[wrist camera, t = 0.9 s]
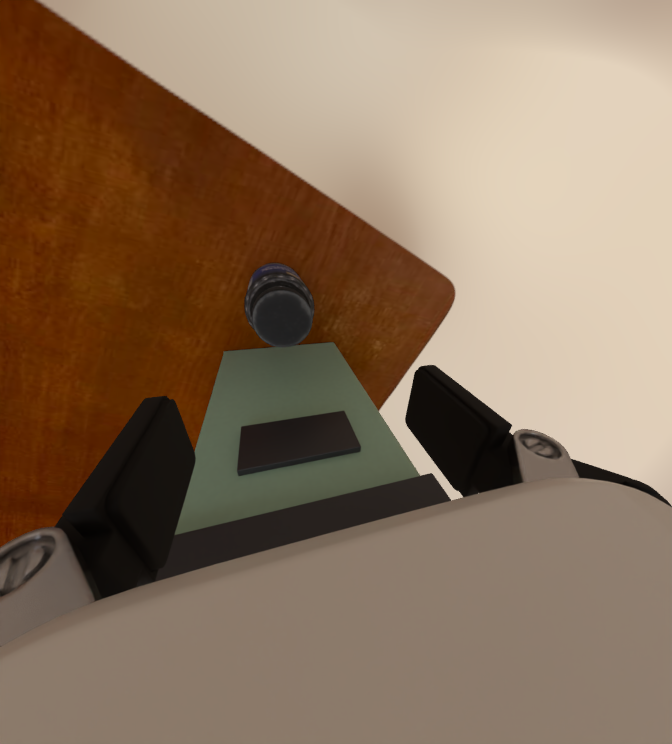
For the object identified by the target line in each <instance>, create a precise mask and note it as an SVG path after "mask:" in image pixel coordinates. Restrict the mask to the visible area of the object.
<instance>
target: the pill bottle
mask: <svg viewBox="0 0 672 744" xmlns="http://www.w3.org/2000/svg"><path fill="white" fill-rule="evenodd" d="M244 302H245V306H244V307H245V313H246V317H247V319H248V322H249V324H250V325H251V326H252V328H253V329H254V330H255V331H256V333H257V335H258V336H259V337H260V338H261V339H262V340H263V341H265V342H266V343H268V344H270V345H272V346H275V347H283V348H284V347H291V346H294V345H296V344H298V343H300V342H301V341H303V340H304V339H305V338H306V336H307V335H308V334H309V332H310V329H311V326H312V319H313V316H314V301H313V297H312V295H311V293H310V291H309V289H308V288H307V287H306V285H305V284H304V283H303V281H302V280H301V278H300V277H299V276H298V274H297V273H296V272H295V271H294V270H293V269H291V268H290V267H288V266H286V265H284V264H280V263H269V264H266V265H264V266H262V267H260V268H258V269H257V270H256V271H255V272H254V273H253V275H252V277H251V279H250V282H249V286H248V290H247V293H246V297H245V301H244Z"/></svg>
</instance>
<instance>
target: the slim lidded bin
mask: <svg viewBox="0 0 672 744" xmlns="http://www.w3.org/2000/svg"><path fill="white" fill-rule="evenodd" d="M195 457H196V462H195V466H194V470H193V473H192V477H191V480H190V483H189V487H188V490H187V494H186V497H185V501H184V504H183V507H182V511H181V514H180V518H179V521H178V525H177V528H176V531H175V535H174V538H173V542H172V545H171V549H170V552H169V555H168V559H167V562H166V564H165V566H164V567H163V568H160V569H159V570H158V573H157V577H156V580H155V582H156V581H160V580H163V579H167V578H170V577H174V576H177V575H180V574H184V573H187V572H191V571H194V570H198V569H201V568H204V567H208V566H211V565H215V564H218V563H222V562H226V561H229V560H233V559H237V558H240V557H244V556H248V555H251V554H255V553H258V552H262V551H266V550H269V549H273V548H277V547H280V546H284V545H288V544H291V543H295V542H299V541H302V540H306V539H310V538H313V537H317V536H321V535H324V534H328V533H332V532H335V531H339V530H343V529H347V528H350V527H354V526H358V525H361V524H365V523H369V522H373V521H376V520H380V519H384V518H388V517H391V516H395V515H399V514H403V513H406V512H410V511H414V510H418V509H421V508H425V507H429V506H433V505H437V504H440V503H444V502H448V501H451V499H450V498H449V497H448V495H447V494H446V492H445V491H444V489H443V488H442V487H441V485H440V484H439V482H438V481H437V480H436V478H435V477H434V475H433V474H432V473H430V474H426V475H422V476H420V475H419V473H418V472H417V470H416V468H415V467H414V466H413V464H412V463H411V461H410V459H409V458H408V456H407V455H406V453H405V452H404V450H403V449H402V447H401V446H400V444H399V442H398V441H397V439H396V438H395V436H394V435H393V433H392V432H391V430H390V428H389V427H388V425H387V424H386V422H385V421H384V419H383V418H382V416H381V415H380V413H379V411H378V410H377V408H376V407H375V405H374V404H373V402H372V401H371V399H370V398H369V396H368V394H367V393H366V391H365V390H364V388H363V387H362V385H361V384H360V382H359V381H358V379H357V378H356V376H355V374H354V373H353V371H352V370H351V368H350V367H349V365H348V364H347V362H346V361H345V359H344V358H343V356H342V354H341V353H340V351H339V350H338V348H337V347H336V345H335V344H334V342H329V343H317V344H306V345H294V346H291V347H284V348H283V347H270V348H259V349H247V350H235V351H224V354H223V357H222V361H221V364H220V368H219V371H218V374H217V378H216V381H215V385H214V388H213V391H212V395H211V398H210V402H209V405H208V408H207V412H206V415H205V418H204V422H203V425H202V429H201V432H200V435H199V439H198V442H197V446H196V449H195Z"/></svg>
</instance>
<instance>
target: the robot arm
mask: <svg viewBox="0 0 672 744" xmlns="http://www.w3.org/2000/svg"><path fill="white" fill-rule="evenodd" d="M405 420H406V424H407V426H408V428H409V429H410V430H411V432H412V433H413V434H414V436H415V437H416V438H417V440H418V441H419V442H420V444H421V445H422V446H423V448H424V449H425V451H426V452H427V453H428V455H429V456H430V457H431V458H432V460H433V461H434V463H435V464H436V465H437V467H438V468H439V469H440V470H441V472H442V473H443V475H444V476H445V477H446V479H447V480H448V481H449V483H450V484H451V485H452V487H453V488H454V489H455V490H457V491H459V492H460V493H461V494H462V496H463V498H460V499H456V500H452V501H448V502H444V503H440V504H437V505H433V506H429V507H425V508H421V509H418V510H414V511H410V512H406V513H403V514H399V515H395V516H391V517H388V518H384V519H380V520H376V521H373V522H369V523H365V524H361V525H358V526H354V527H350V528H347V529H343V530H339V531H335V532H332V533H328V534H324V535H321V536H317V537H313V538H310V539H306V540H302V541H299V542H295V543H291V544H288V545H284V546H280V547H277V548H273V549H269V550H266V551H262V552H258V553H255V554H251V555H248V556H244V557H240V558H237V559H233V560H229V561H226V562H222V563H218V564H215V565H211V566H208V567H204V568H201V569H198V570H194V571H191V572H187V573H184V574H180V575H177V576H174V577H170V578H167V579H163V580H160V581H156V582H155V580H156V577H157V573H158V570H159V569H160V568H163V567H164V566H165V564H166V562H167V559H168V555H169V552H170V549H171V545H172V542H173V538H174V535H175V531H176V528H177V525H178V521H179V518H180V514H181V511H182V507H183V504H184V501H185V497H186V494H187V490H188V487H189V483H190V480H191V477H192V473H193V470H194V466H195V462H196V457H195V452H194V450H193V447H192V445H191V442H190V439H189V437H188V434H187V431H186V429H185V426H184V423H183V421H182V418H181V416H180V413H179V410H178V408H177V405H176V403H175V401H174V400H173V399H171V400H169V398H168V397H167V396H161V397H152V398H146V399H144V400H143V402H142V403H141V404H140V406H139V407H138V409H137V410H136V411H135V413H134V414H133V416H132V417H131V419H130V420H129V421H128V423H127V424H126V426H125V427H124V428H123V430H122V431H121V433H120V434H119V435H118V437H117V438H116V440H115V441H114V442H113V444H112V445H111V447H110V448H109V449H108V451H107V452H106V454H105V455H104V457H103V458H102V459H101V461H100V462H99V464H98V465H97V466H96V468H95V469H94V471H93V472H92V473H91V475H90V476H89V478H88V479H87V480H86V482H85V483H84V485H83V486H82V487H81V489H80V490H79V492H78V493H77V495H76V496H75V497H74V499H73V500H72V502H71V503H70V504H69V506H68V507H67V509H66V510H65V511H64V513H63V514H62V515H63V516H62V517H61V518H60V520H59V521H58V523H57V524H56V526H55V527H46V528H40V529H37V530H34V531H31V532H28V533H25V534H23V535H21V536H19V537H17V538H15V539H13V540H11V541H10V542H8V543H6V544H5V545H3V546H2V547H0V744H672V506H671V505H670V504H669V502H668V501H667V500H666V499H664V498H663V497H662V496H661V495H660V494H658V492H657V491H655V490H654V489H653V488H651V487H650V486H648V485H646V484H644V483H642V482H640V481H637V480H633V479H631V478H628V477H625V476H622V475H619V474H616V473H613V472H610V471H607V470H604V469H601V468H598V467H594V466H592V465H589V464H585V463H582V462H579V461H576V460H573V459H571V458H570V456H569V454H568V452H567V451H566V449H565V448H564V447H563V446H562V445H561V444H560V443H559V442H557V441H556V440H554V439H553V438H551V437H549V436H547V435H545V434H543V433H540V432H537V431H534V430H528V429H521V430H518V431H516V432H515V433H514V435H512V434H511V433H509V430H510V429H511V426H512V425H511V424H510V423H509V422H507V421H506V420H505V419H504V418H502V417H501V416H499V415H498V414H497V413H496V412H494V411H493V410H492V409H491V408H489V407H488V406H487V405H485V404H484V403H483V402H482V401H480V400H479V399H478V398H476V397H475V396H474V395H472V394H471V393H470V392H469V391H467V390H466V389H464V388H463V387H462V386H461V385H459V384H458V383H457V382H455V381H454V380H453V379H452V378H450V377H449V376H448V375H446V374H445V373H444V372H442V371H441V370H440V369H439V368H437V367H436V366H434V365H427V366H421V367H419V369H418V370H416V372H415V374H414V379H413V384H412V389H411V394H410V399H409V404H408V408H407V413H406V418H405ZM478 493H479V494H478Z"/></svg>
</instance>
